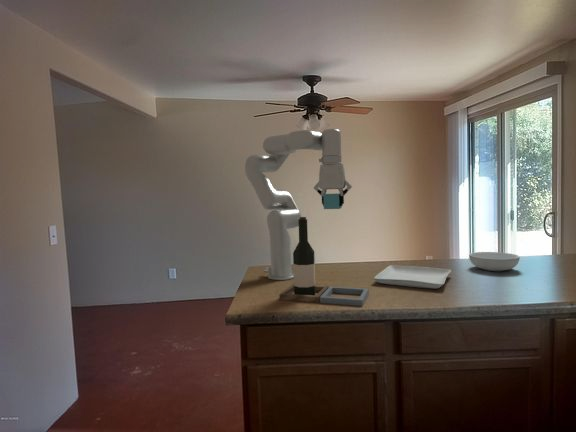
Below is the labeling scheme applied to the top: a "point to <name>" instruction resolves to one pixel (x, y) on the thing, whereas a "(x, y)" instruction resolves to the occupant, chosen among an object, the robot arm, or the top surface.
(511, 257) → the serving bowl
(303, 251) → the wine bottle
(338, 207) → the teal block
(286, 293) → the walnut frame
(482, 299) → the top surface
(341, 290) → the slate frame
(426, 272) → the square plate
